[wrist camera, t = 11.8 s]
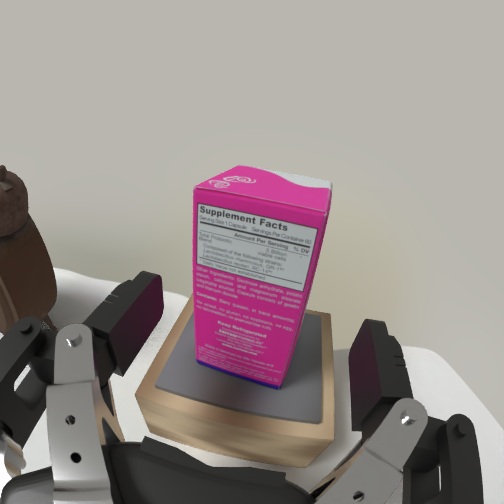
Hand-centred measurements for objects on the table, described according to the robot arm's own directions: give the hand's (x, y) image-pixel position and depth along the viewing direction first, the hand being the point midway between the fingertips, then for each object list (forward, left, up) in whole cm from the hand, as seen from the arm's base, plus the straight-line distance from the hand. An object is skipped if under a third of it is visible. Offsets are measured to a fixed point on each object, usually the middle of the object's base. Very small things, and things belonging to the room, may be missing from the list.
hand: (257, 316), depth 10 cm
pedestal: (0, -5, -14) cm, 15 cm away
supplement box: (0, -5, -8) cm, 9 cm away
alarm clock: (+25, -3, -14) cm, 29 cm away
